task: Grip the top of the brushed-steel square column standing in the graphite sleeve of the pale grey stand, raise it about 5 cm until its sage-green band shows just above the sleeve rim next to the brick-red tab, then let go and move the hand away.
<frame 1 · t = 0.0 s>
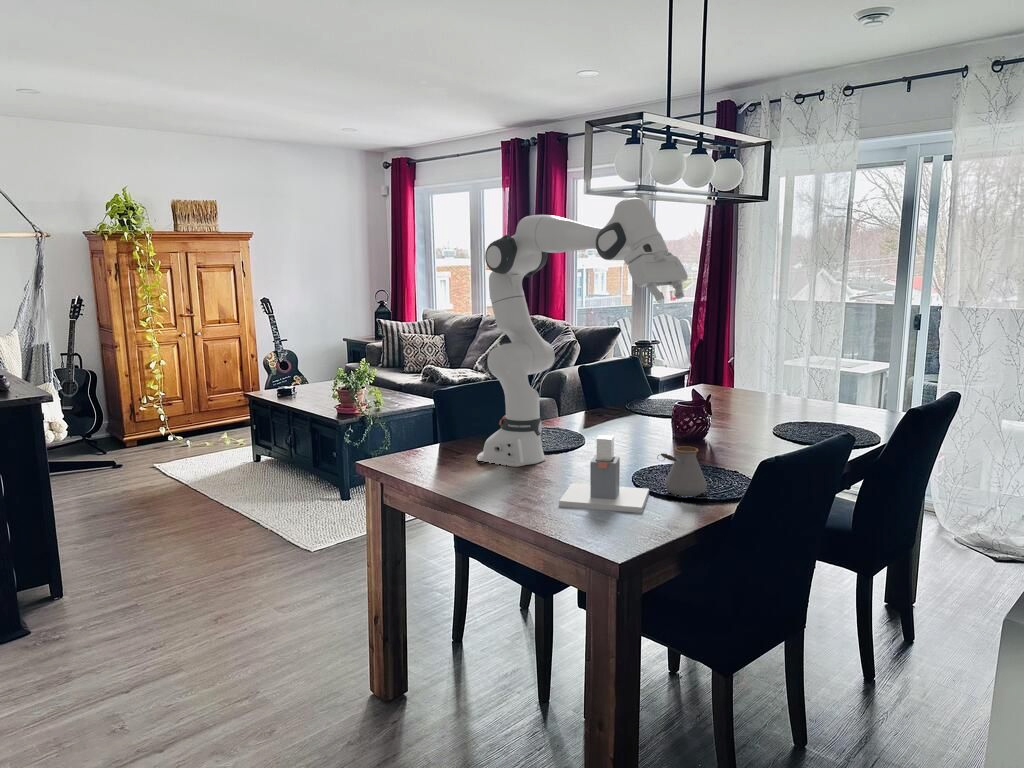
hand: (670, 299, 193), 54 cm above the table, tool tilted 30°, fingers open, 8 cm apart
coffee pot: (677, 499, 201), on the table
stand: (605, 499, 201), on the table
column: (605, 466, 199), point 10 cm above the table, slide at 0.0 cm
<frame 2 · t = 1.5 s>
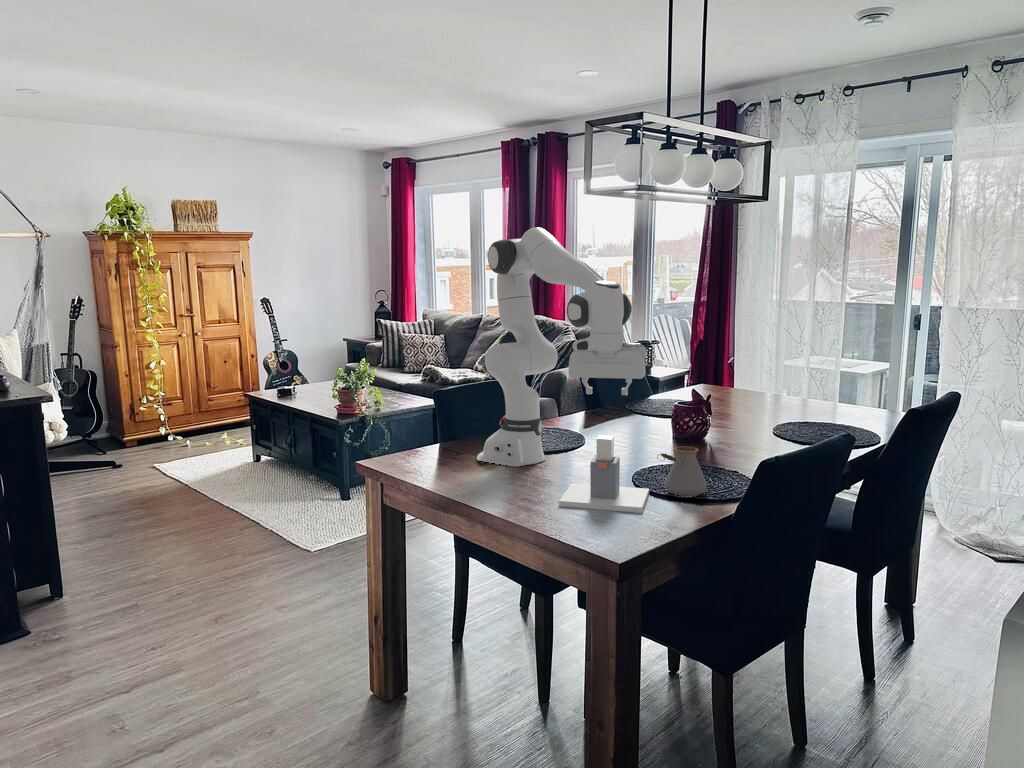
hand: (606, 394, 196), 29 cm above the table, tool pointing down, fingers open, 8 cm apart
nothing on the table moved.
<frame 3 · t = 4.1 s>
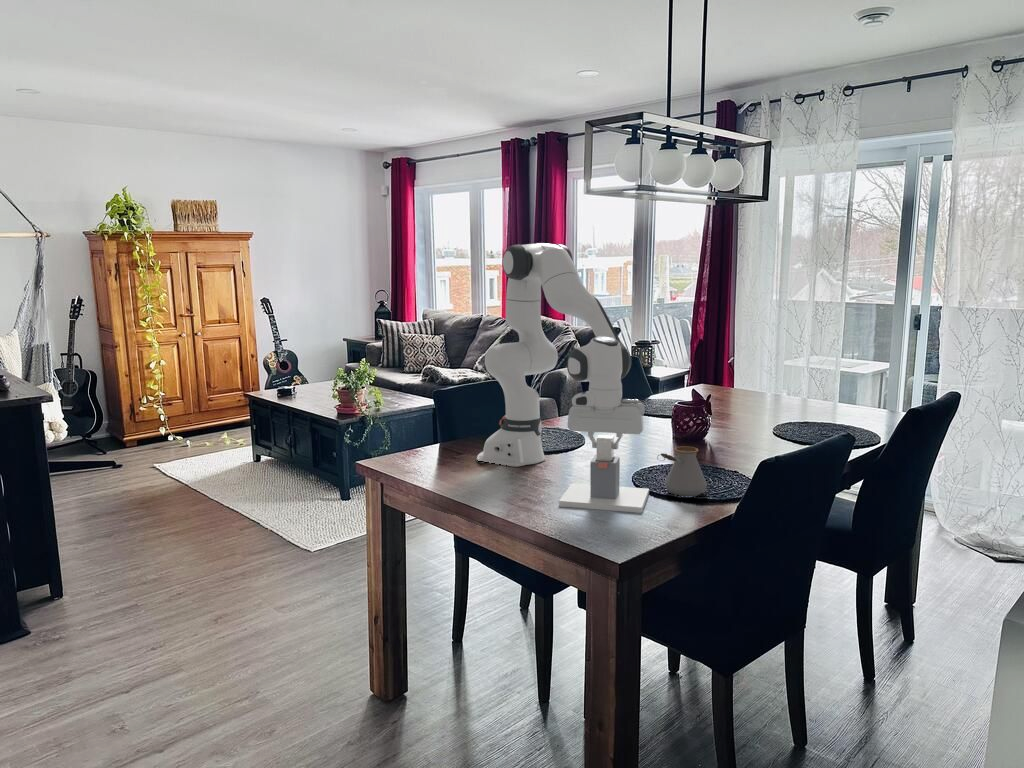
hand: (605, 448, 198), 15 cm above the table, tool pointing down, fingers closed on column, 4 cm apart
column: (605, 466, 199), point 10 cm above the table, slide at 0.0 cm, touching gripper
everything else where it was.
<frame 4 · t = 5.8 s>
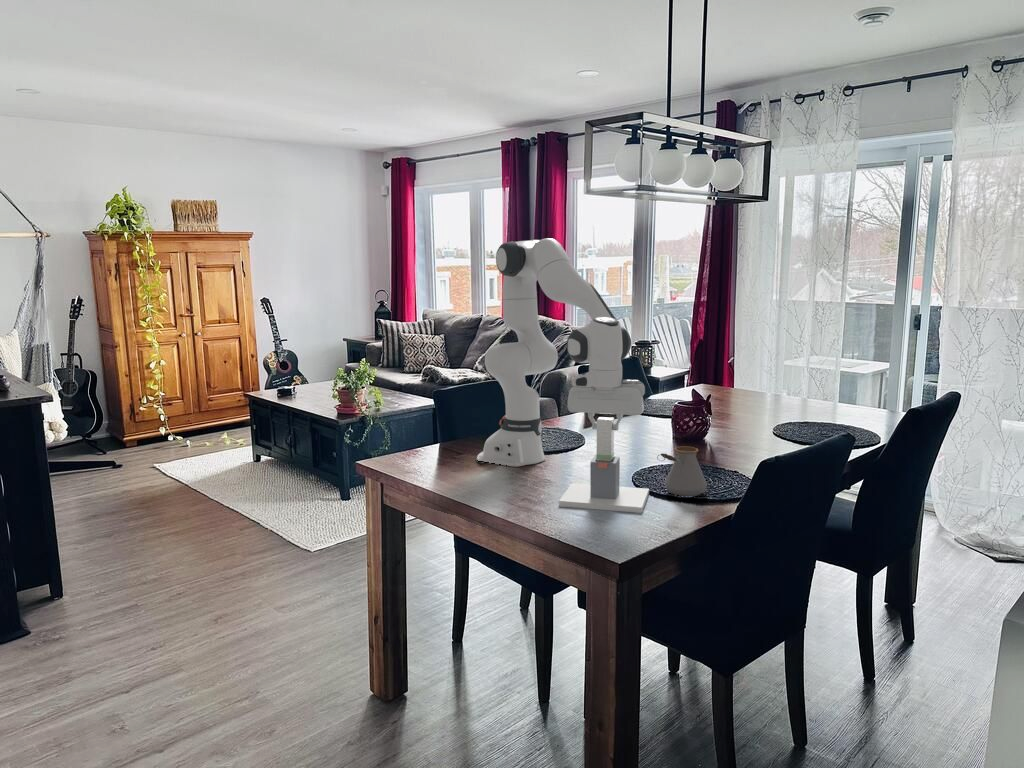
hand: (605, 429, 197), 20 cm above the table, tool pointing down, fingers closed on column, 4 cm apart
column: (605, 447, 198), point 15 cm above the table, slide at 5.1 cm, touching gripper
everything else where it was.
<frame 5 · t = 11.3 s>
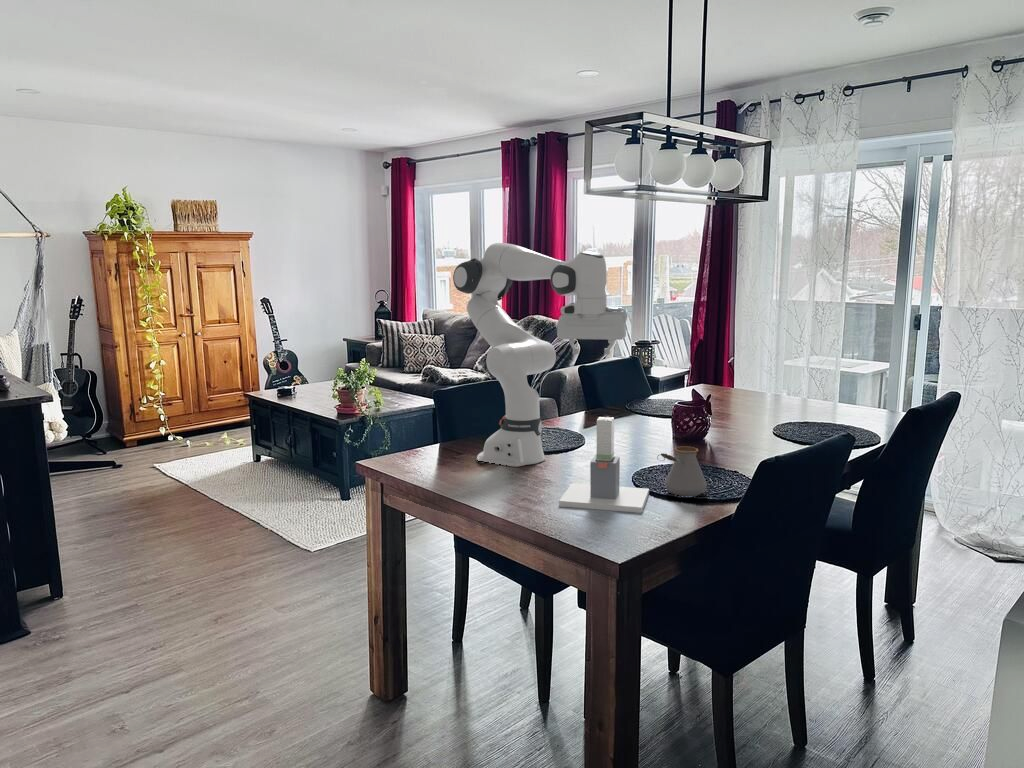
hand: (591, 354, 217), 37 cm above the table, tool pointing down, fingers open, 8 cm apart
column: (605, 447, 198), point 15 cm above the table, slide at 5.2 cm
everything else where it was.
at the end: column slide at 5.2 cm; the gripper is holding nothing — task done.
